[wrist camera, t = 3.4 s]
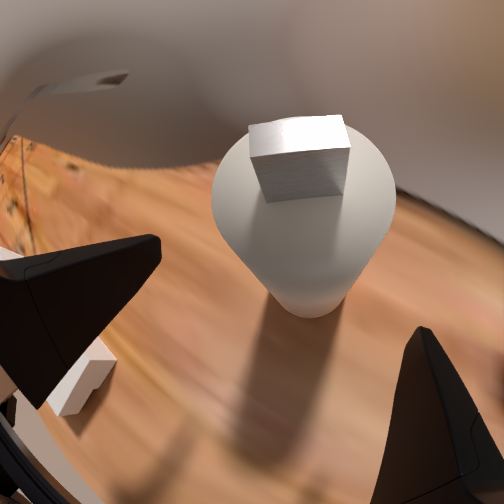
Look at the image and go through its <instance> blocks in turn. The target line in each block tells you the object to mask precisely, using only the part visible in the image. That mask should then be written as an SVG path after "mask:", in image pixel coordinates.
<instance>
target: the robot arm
mask: <svg viewBox="0 0 504 504" xmlns="http://www.w3.org/2000/svg"><path fill="white" fill-rule="evenodd" d="M161 259H162V252H161V240H160V238H159V237H158V236H155V235H152V234H146V235H140V236H135V237H129V238H123V239H118V240H112V241H107V242H102V243H96V244H91V245H86V246H81V247H76V248H71V249H66V250H63V251H62V250H61V251H56V252H51V253H46V254H40V255H34V256H28V257H22V258H16V259H10V260H0V504H31V502H32V503H33V504H81V503H80V502H79V501H78V500H77V499H76V498H74V497H73V496H72V495H71V494H70V493H69V492H68V491H67V490H66V489H65V488H64V487H63V486H62V485H61V484H60V483H59V482H58V481H57V480H56V479H55V478H54V477H53V476H52V475H51V474H50V473H49V472H48V471H47V470H46V469H45V468H44V467H43V465H42V464H41V463H40V462H39V461H38V460H37V459H36V458H35V456H34V455H33V454H32V453H31V452H30V451H29V449H28V448H27V447H26V446H25V444H24V443H23V442H22V441H21V439H20V438H19V437H18V435H17V434H16V433H15V431H14V430H13V429H12V428H13V427H14V425H15V413H16V402H17V399H16V398H15V396H14V395H13V393H14V392H16V390H18V389H19V390H20V391H21V392H22V394H23V395H24V396H25V397H26V398H27V399H28V401H29V402H30V403H31V404H32V405H33V406H34V407H35V409H36V410H38V409H39V408H40V407H41V406H42V404H43V403H44V402H45V400H46V399H47V398H48V396H49V395H50V394H51V393H52V391H53V390H54V389H55V388H56V386H57V385H58V384H59V383H60V381H61V380H62V379H63V378H64V376H65V375H66V374H67V373H68V370H70V369H71V367H72V366H73V365H74V364H75V363H76V361H77V360H78V359H79V358H80V357H81V355H82V354H83V353H84V352H85V351H86V350H87V348H88V347H89V346H90V345H91V344H92V343H93V341H94V340H95V339H96V338H97V337H98V336H99V334H100V333H101V332H102V331H103V330H104V329H105V328H106V326H107V325H108V324H109V323H110V322H111V321H112V320H113V319H114V317H115V316H116V315H117V314H118V313H119V312H120V311H121V310H122V309H123V307H124V306H125V305H126V304H127V303H128V302H129V301H130V300H131V299H132V298H133V297H134V295H135V294H136V293H137V292H138V291H139V289H140V288H141V287H142V286H143V284H144V283H145V282H146V280H147V279H148V278H149V276H150V275H151V274H152V273H153V271H154V270H155V269H156V267H157V266H158V265H159V263H160V262H161ZM18 488H20V489H21V491H22V492H23V493H24V494H25V496H26V497H27V498H28V499H29V500H30V501H31V502H29V501H28V500H27V499H26V498H25V497H24V496H23V495H21V494H20V493H18V492H17V489H18ZM370 504H504V459H503V457H502V455H501V453H500V451H499V450H498V448H497V446H496V444H495V442H494V440H493V438H492V437H491V435H490V433H489V431H488V429H487V427H486V425H485V423H484V421H483V419H482V417H481V415H480V413H479V412H478V409H477V407H476V405H475V403H474V401H473V399H472V398H471V396H470V394H469V392H468V390H467V388H466V387H465V385H464V383H463V381H462V379H461V378H460V376H459V374H458V373H457V371H456V369H455V367H454V366H453V364H452V362H451V361H450V359H449V358H448V356H447V354H446V353H445V351H444V349H443V348H442V346H441V345H440V343H439V342H438V340H437V338H436V337H435V335H434V334H433V332H432V331H431V330H430V329H429V328H425V327H422V326H419V327H418V328H417V329H416V330H415V332H414V333H413V335H412V336H411V338H410V340H409V341H408V343H407V344H406V347H405V349H404V353H403V359H402V363H401V368H400V373H399V377H398V382H397V386H396V390H395V395H394V402H393V408H392V415H391V420H390V426H389V431H388V436H387V441H386V446H385V450H384V455H383V459H382V463H381V467H380V471H379V475H378V478H377V482H376V486H375V489H374V492H373V495H372V499H371V502H370Z"/></svg>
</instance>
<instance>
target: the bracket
mask: <svg viewBox="0 0 504 504" xmlns="http://www.w3.org/2000/svg"><path fill="white" fill-rule="evenodd" d="M22 257H24V256H21V255H19V254H16V253H14V252H12V251H9V250H7V249H5V248H3V247H0V260H10V259H16V258H22ZM116 361H117V359H116V358H115V357H114V355H113V354H112V353H111V352H110V351H109V349H108V348H107V347H106V346H105V344H104V343H103V342H102V341H101V339H100V338H99V337H97V338H96V339H95V340H94V341H93V343H92V344H91V345H90V346H89V347H88V348H87V350H86V351H85V352H84V353H83V354H82V355H81V357H80V358H79V359H78V360H77V361H76V363H75V364H74V365H73V366H72V367H71V369H70V370H68V373H67V374H66V375H65V376H64V378H63V379H62V380H61V381H60V383H59V384H58V385H57V386H56V388H55V389H54V390H53V391H52V393H51V394H50V395H49V396H48V398H47V399H46V400H47V401H48V403H49V404H50V406H51V408H52V409H53V411H54V412H55V414H56V415H57V417H60V416H67V415H73V414H78V413H79V412H80V410H81V408H82V407H83V405H84V404H85V402H86V400H87V399H88V397H89V395H90V394H91V392H92V391H93V389H98V388H99V387H100V386H101V384H102V383H103V381H104V379H105V378H106V376H107V375H108V373H109V372H110V370H111V369H112V367H113V366H114V364H115V363H116Z"/></svg>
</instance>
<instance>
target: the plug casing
mask: <svg viewBox="0 0 504 504" xmlns="http://www.w3.org/2000/svg"><path fill="white" fill-rule="evenodd" d="M211 201H212V210H213V216H214V219H215V222H216V225H217V227H218V229H219V231H220V233H221V235H222V237H223V238H224V239H225V241H226V242H227V243H228V245H229V246H230V247H231V248H232V250H233V251H234V252H235V253H236V254H237V255H238V257H239V258H240V259H241V260H242V261H243V262H244V263H245V265H246V266H247V267H248V268H249V269H250V270H251V271H252V273H253V274H254V275H255V276H256V277H257V278H258V279H259V281H260V282H261V283H262V284H263V285H264V286H265V287H266V289H267V290H268V291H269V292H270V293H271V294H272V295H273V297H274V298H275V299H276V300H277V301H278V302H279V303H280V305H281V306H282V307H283V308H284V309H285V310H287V311H288V312H290V313H291V314H293V315H296V316H298V317H302V318H318V317H321V316H324V315H326V314H328V313H330V312H332V311H333V310H334V309H335V308H336V307H337V306H338V305H339V304H340V303H341V301H342V300H343V299H344V297H345V296H346V294H347V293H348V291H349V290H350V289H351V287H352V286H353V284H354V283H355V281H356V280H357V278H358V277H359V275H360V274H361V272H362V271H363V269H364V268H365V266H366V265H367V263H368V262H369V260H370V259H371V257H372V256H373V254H374V253H375V251H376V249H377V248H378V246H379V245H380V243H381V241H382V240H383V238H384V236H385V235H386V233H387V232H388V230H389V227H390V225H391V222H392V220H393V216H394V212H395V205H396V190H395V183H394V179H393V175H392V173H391V170H390V168H389V166H388V164H387V162H386V160H385V158H384V157H383V156H382V154H381V153H380V151H379V150H378V149H377V148H376V147H375V146H374V144H372V142H371V141H369V140H368V139H367V138H366V137H365V136H363V135H362V134H361V133H359V132H357V131H356V130H354V129H352V128H350V127H348V126H346V125H344V124H343V121H342V118H341V115H335V116H321V117H306V116H302V117H290V118H284V119H280V120H276V121H272V122H268V123H261V124H254V125H249V133H248V134H246V135H245V136H244V137H242V138H241V139H240V140H239V141H238V142H237V143H236V144H235V145H234V146H233V147H232V148H231V149H230V150H229V151H228V153H227V154H226V155H225V157H224V158H223V160H222V162H221V163H220V165H219V167H218V169H217V172H216V174H215V177H214V181H213V185H212V194H211Z"/></svg>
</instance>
